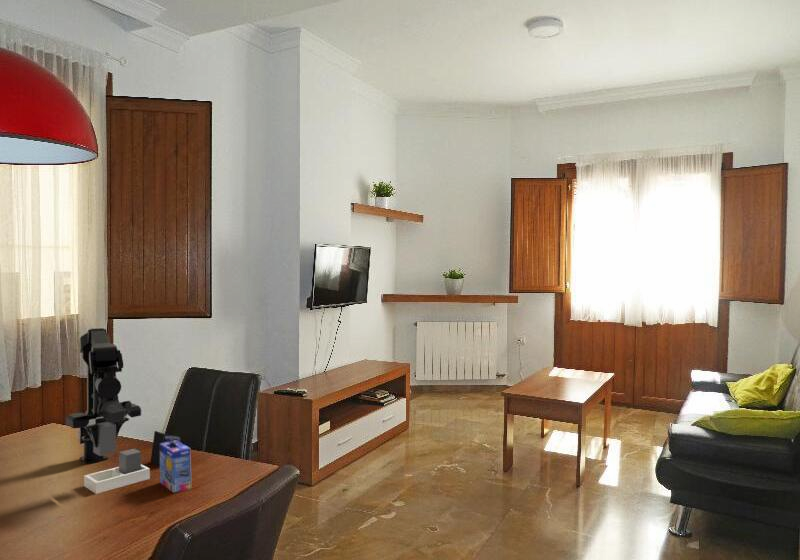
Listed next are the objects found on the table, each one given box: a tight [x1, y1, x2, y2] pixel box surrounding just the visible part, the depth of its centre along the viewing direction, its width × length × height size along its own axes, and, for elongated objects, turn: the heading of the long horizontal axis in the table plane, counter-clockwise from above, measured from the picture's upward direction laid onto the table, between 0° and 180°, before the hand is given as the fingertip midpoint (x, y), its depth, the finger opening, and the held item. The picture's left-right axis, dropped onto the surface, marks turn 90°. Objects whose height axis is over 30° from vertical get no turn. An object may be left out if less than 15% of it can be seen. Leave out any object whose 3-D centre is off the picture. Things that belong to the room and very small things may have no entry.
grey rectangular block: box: [93, 422, 117, 456], centre depth 167 cm, size 4×4×8 cm
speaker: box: [150, 430, 181, 467], centre depth 187 cm, size 8×6×10 cm
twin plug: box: [118, 448, 142, 474], centre depth 173 cm, size 4×4×8 cm
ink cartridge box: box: [159, 437, 192, 493], centre depth 169 cm, size 10×6×14 cm, turn 45°
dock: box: [83, 463, 151, 495], centre depth 170 cm, size 8×15×4 cm, turn 140°
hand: (104, 445), depth 167 cm, fingers closed on grey rectangular block, 4 cm apart
